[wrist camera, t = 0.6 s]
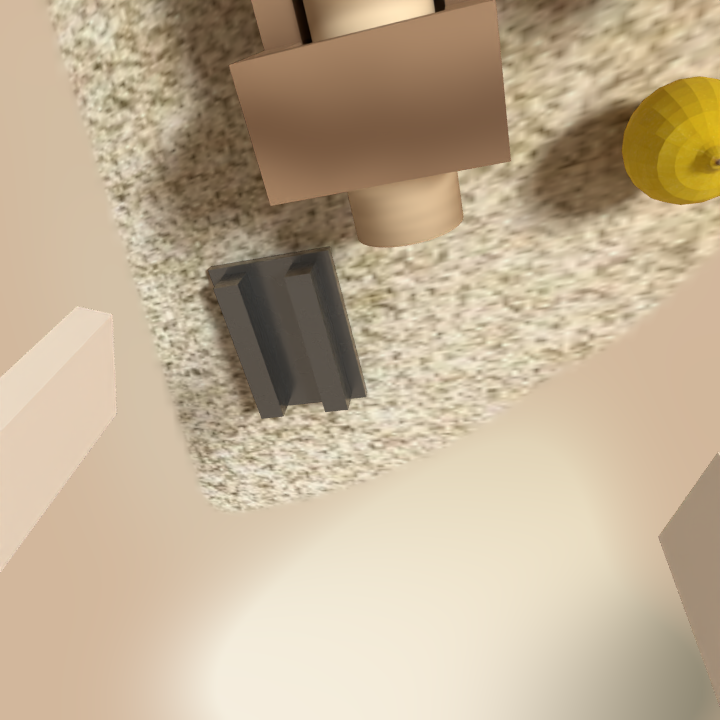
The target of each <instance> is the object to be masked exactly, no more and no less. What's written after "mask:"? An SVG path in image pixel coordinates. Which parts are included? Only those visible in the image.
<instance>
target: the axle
mask: <svg viewBox="0 0 720 720" xmlns="http://www.w3.org/2000/svg"><path fill="white" fill-rule="evenodd" d="M303 3H304V8H305V12H306V16H307V21H308V25H309V29H310V34H311V38H312V42H317V41H321V40H325V39H330V38H334V37H338V36H342V35H346V34H350V33H354V32H358V31H362V30H366V29H370V28H374V27H378V26H382V25H387V24H391V23H395V22H399V21H403V20H407V19H411V18H415V17H419V16H423V15H427V14H431V13H435V7H434V0H303ZM347 193H348V198H349V202H350V206H351V211H352V215H353V219H354V223H355V228H356V232H357V236H358V240H359V241H360V242H361V243H363V244H365V245H368V246H373V247H399V246H406V245H412V244H416V243H421V242H424V241H428V240H431V239H434V238H437V237H439V236H442V235H444V234H446V233H448V232H450V231H451V230H453V229H454V228H456V227H457V226H458V225H459V224H460V223H461V222H462V220H463V210H462V203H461V195H460V188H459V181H458V174H457V171H455V172H450V173H445V174H439V175H434V176H429V177H423V178H418V179H413V180H407V181H402V182H397V183H391V184H386V185H380V186H375V187H370V188H364V189H359V190H354V191H348V192H347Z"/></svg>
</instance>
